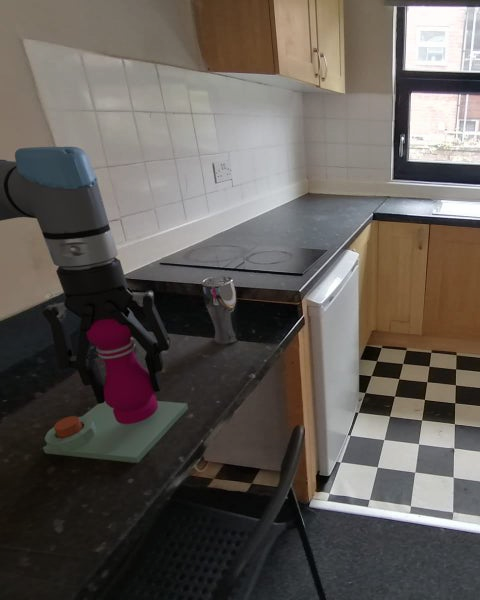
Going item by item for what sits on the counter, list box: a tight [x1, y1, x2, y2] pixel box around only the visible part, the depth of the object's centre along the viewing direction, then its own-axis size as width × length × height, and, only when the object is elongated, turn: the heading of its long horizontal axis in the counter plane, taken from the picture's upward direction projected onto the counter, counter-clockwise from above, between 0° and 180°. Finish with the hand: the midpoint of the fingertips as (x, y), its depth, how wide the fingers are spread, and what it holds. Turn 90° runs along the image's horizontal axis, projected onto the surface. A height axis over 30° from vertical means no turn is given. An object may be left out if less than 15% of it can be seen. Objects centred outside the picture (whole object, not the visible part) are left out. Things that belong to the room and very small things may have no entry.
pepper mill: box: [87, 319, 158, 424], centre depth 64 cm, size 7×7×20 cm
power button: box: [53, 415, 82, 438], centre depth 64 cm, size 3×3×2 cm
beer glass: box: [200, 275, 243, 345], centre depth 94 cm, size 7×7×15 cm
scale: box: [42, 400, 189, 464], centre depth 68 cm, size 16×14×3 cm
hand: (131, 392), depth 67 cm, fingers closed on pepper mill, 7 cm apart
